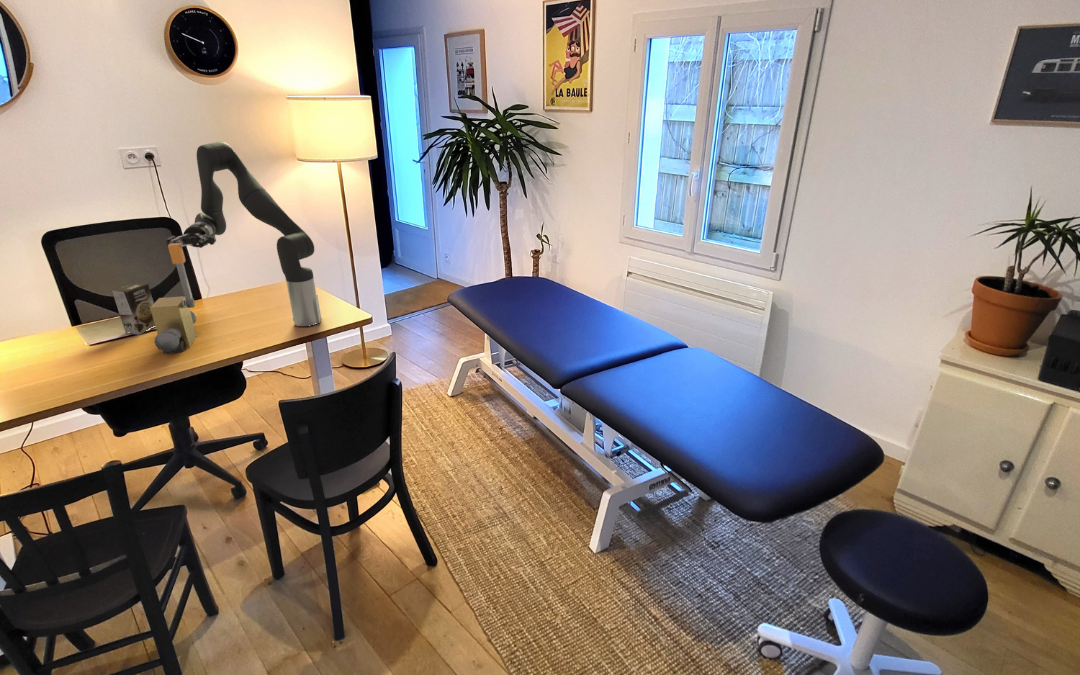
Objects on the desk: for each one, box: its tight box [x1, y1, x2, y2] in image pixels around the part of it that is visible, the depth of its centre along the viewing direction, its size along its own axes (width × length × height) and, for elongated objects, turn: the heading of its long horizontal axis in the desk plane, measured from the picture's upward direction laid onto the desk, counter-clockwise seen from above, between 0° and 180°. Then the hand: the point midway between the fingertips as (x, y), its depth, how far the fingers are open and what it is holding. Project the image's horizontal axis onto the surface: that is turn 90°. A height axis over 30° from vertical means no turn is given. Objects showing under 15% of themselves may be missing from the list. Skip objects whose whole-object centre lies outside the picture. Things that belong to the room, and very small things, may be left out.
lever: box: [167, 242, 196, 309], centre depth 180 cm, size 3×3×22 cm
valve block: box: [150, 295, 198, 355], centre depth 185 cm, size 9×21×16 cm, turn 16°
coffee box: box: [111, 282, 155, 336], centre depth 195 cm, size 9×6×16 cm
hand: (185, 245), depth 186 cm, fingers open, 8 cm apart
